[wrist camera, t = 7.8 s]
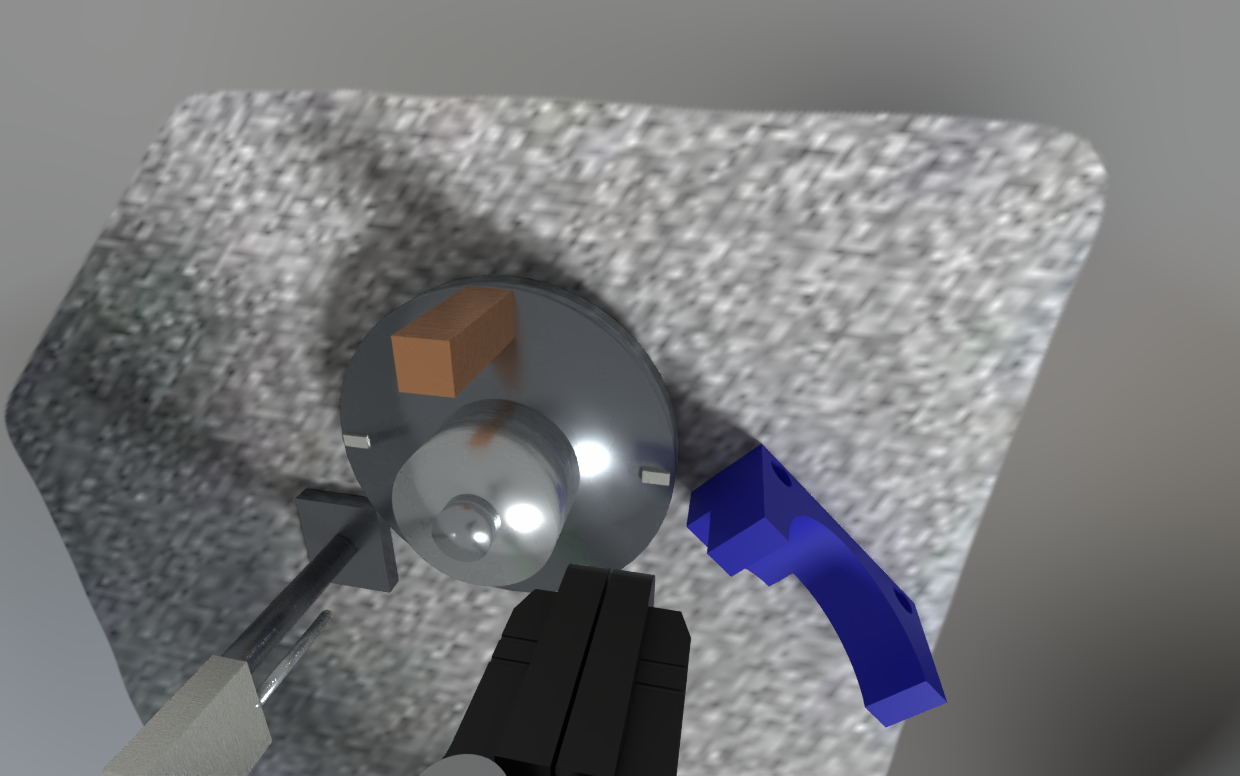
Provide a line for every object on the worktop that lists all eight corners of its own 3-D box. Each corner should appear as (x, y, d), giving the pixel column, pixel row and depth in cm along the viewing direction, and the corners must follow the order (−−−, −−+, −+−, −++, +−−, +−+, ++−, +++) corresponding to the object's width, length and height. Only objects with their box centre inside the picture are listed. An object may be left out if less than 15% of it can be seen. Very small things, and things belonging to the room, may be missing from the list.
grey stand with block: (398, 581, 38) (187, 871, 24) (324, 569, 39) (76, 843, 24) (385, 499, 35) (139, 770, 21) (306, 488, 36) (17, 742, 22)
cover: (581, 537, 30) (550, 618, 25) (443, 519, 31) (390, 593, 26) (578, 406, 27) (543, 470, 22) (427, 391, 28) (363, 450, 23)
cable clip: (691, 490, 31) (680, 569, 26) (761, 442, 30) (764, 517, 24) (839, 637, 34) (856, 739, 28) (913, 601, 32) (947, 702, 26)
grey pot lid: (669, 586, 32) (647, 723, 25) (387, 544, 35) (294, 657, 28) (690, 288, 26) (669, 361, 18) (338, 263, 28) (199, 318, 21)
